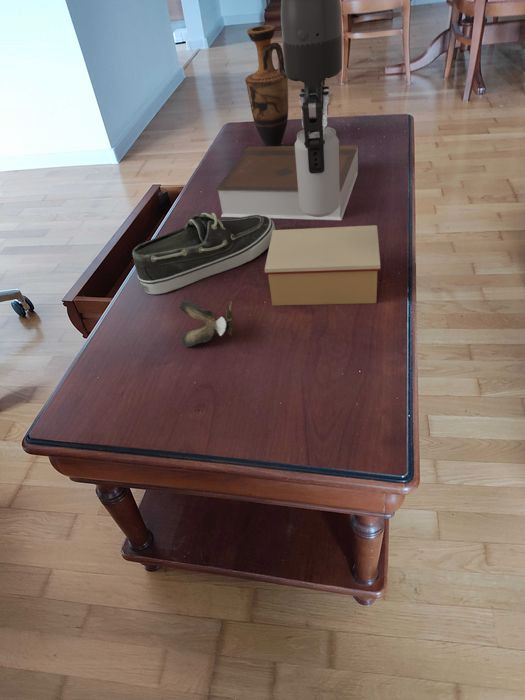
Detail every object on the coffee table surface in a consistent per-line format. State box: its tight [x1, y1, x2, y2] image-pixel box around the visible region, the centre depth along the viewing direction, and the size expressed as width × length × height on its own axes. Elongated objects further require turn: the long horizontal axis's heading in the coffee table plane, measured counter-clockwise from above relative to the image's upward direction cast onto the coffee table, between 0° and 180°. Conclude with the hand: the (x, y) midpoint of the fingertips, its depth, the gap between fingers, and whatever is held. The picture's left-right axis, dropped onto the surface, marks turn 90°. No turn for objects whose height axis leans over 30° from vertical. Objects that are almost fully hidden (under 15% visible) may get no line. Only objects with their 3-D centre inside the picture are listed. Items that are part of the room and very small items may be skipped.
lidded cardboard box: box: [264, 224, 382, 306], centre depth 91 cm, size 19×13×8 cm
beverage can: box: [294, 126, 340, 217], centre depth 78 cm, size 6×6×12 cm
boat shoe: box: [131, 212, 277, 295], centre depth 100 cm, size 11×31×10 cm, turn 125°
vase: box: [244, 24, 289, 146], centre depth 133 cm, size 11×11×30 cm
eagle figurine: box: [178, 300, 234, 348], centre depth 85 cm, size 8×7×9 cm
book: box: [215, 144, 360, 221], centre depth 121 cm, size 24×28×6 cm
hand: (317, 161), depth 77 cm, fingers closed on beverage can, 6 cm apart
